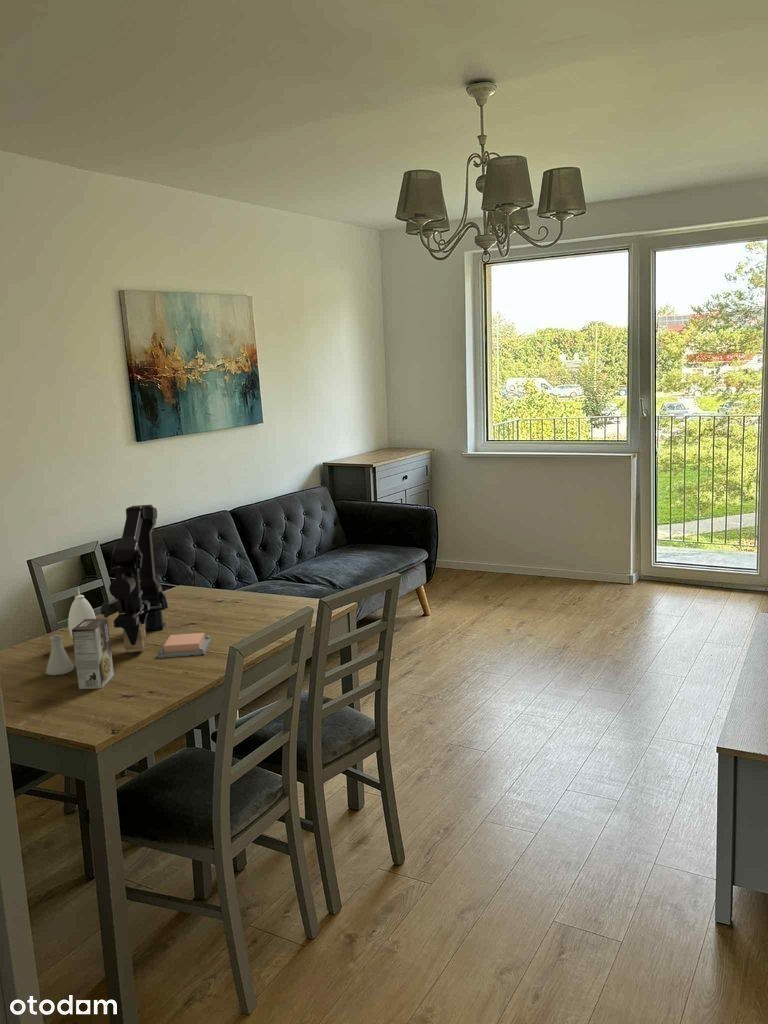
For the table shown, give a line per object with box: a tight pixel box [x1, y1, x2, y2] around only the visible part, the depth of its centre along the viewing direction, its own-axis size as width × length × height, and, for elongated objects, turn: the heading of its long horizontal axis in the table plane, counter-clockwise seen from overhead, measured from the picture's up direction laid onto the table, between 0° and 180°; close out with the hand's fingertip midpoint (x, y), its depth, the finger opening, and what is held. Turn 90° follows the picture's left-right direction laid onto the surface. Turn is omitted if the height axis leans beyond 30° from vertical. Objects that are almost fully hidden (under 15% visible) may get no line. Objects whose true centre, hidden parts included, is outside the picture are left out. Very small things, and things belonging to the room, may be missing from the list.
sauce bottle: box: [67, 587, 97, 640], centre depth 246 cm, size 8×8×18 cm
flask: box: [45, 634, 75, 676], centre depth 224 cm, size 7×7×10 cm
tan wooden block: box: [122, 623, 148, 651], centre depth 237 cm, size 5×5×6 cm
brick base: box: [157, 632, 212, 659], centre depth 238 cm, size 13×13×3 cm
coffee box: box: [72, 618, 115, 690], centre depth 213 cm, size 9×6×16 cm
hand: (135, 641), depth 237 cm, fingers closed on tan wooden block, 5 cm apart
